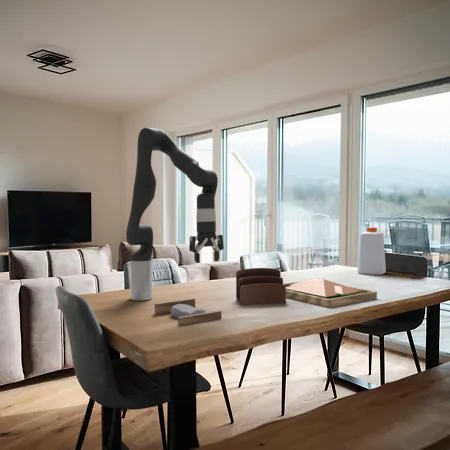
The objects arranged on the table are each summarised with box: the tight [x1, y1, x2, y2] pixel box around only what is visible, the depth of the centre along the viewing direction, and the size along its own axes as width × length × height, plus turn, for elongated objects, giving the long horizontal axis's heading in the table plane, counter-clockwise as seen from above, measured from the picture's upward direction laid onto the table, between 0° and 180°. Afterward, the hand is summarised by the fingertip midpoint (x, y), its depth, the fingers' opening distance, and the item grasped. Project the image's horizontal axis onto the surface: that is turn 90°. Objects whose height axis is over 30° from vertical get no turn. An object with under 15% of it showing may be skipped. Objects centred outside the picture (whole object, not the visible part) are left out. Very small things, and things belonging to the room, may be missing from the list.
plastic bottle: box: [356, 226, 387, 276], centre depth 271 cm, size 15×15×28 cm
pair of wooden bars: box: [154, 297, 222, 326], centre depth 164 cm, size 20×17×4 cm
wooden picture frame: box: [283, 280, 378, 308], centre depth 203 cm, size 40×30×3 cm
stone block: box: [170, 304, 206, 319], centre depth 165 cm, size 12×5×10 cm
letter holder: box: [235, 267, 287, 305], centre depth 190 cm, size 10×20×14 cm, turn 97°
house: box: [286, 277, 360, 299], centre depth 203 cm, size 23×33×8 cm
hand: (207, 262), depth 173 cm, fingers open, 8 cm apart
